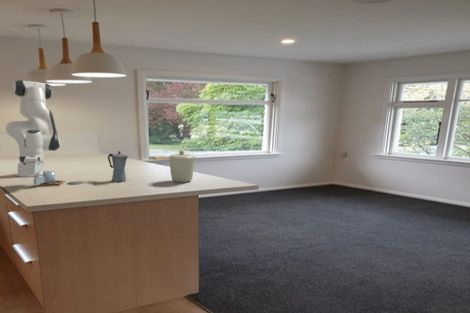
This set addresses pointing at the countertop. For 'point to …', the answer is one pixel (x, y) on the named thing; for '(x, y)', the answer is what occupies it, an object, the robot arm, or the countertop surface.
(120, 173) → the moka pot
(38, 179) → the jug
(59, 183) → the holder
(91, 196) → the countertop surface
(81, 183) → the mat
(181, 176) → the canister
